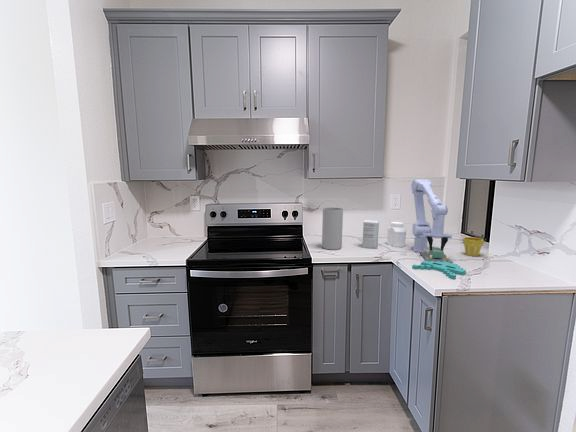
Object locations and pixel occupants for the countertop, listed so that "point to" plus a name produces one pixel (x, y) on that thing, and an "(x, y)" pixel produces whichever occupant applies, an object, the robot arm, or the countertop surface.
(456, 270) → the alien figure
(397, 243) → the jar
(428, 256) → the chassis
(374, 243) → the supplement box
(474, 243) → the plant pot
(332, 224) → the cylinder vase
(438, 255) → the green block
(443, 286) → the countertop surface
